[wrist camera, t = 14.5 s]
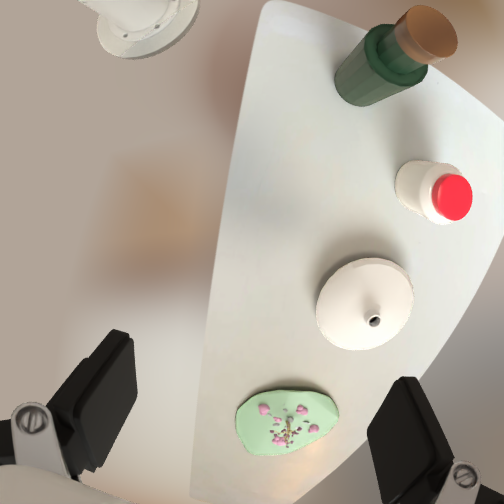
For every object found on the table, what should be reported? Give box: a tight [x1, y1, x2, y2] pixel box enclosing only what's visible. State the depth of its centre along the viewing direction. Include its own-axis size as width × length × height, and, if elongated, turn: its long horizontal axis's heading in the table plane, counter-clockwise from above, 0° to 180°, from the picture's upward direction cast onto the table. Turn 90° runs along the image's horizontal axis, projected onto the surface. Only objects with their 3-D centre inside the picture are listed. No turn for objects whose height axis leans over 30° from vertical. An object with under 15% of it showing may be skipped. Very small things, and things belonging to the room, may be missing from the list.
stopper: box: [395, 5, 458, 64], centre depth 18 cm, size 5×5×7 cm
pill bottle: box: [395, 160, 472, 224], centre depth 34 cm, size 8×8×11 cm
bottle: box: [335, 24, 428, 107], centre depth 26 cm, size 7×7×20 cm
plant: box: [236, 390, 339, 455], centre depth 52 cm, size 25×21×9 cm
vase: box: [316, 258, 414, 350], centre depth 42 cm, size 16×16×7 cm
